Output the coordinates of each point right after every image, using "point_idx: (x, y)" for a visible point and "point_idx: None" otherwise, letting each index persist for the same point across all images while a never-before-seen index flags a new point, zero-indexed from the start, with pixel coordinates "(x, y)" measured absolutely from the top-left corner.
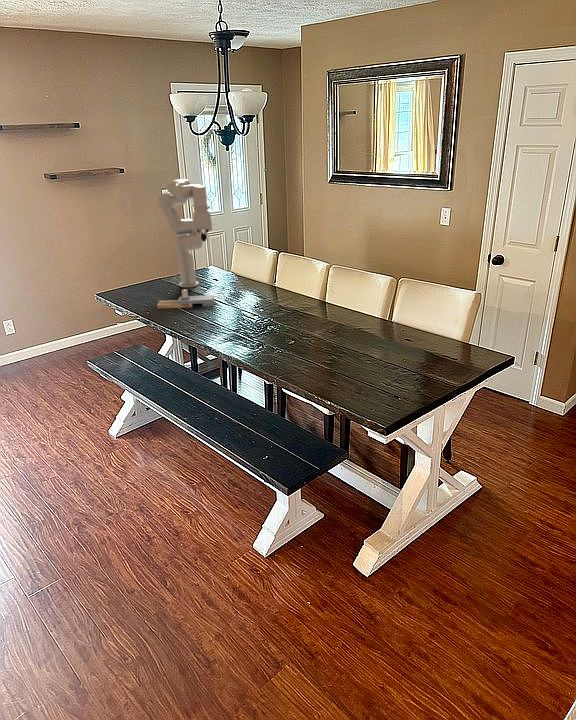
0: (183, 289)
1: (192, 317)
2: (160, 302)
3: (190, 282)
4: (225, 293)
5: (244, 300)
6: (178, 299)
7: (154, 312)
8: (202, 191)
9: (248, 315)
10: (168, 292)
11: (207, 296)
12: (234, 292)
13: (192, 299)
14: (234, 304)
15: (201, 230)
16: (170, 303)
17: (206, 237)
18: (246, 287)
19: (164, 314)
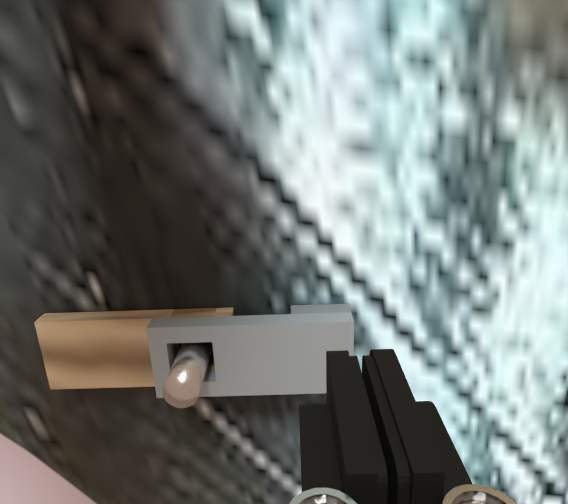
0: (170, 380)
1: (268, 490)
2: (52, 348)
3: None
4: (406, 151)
5: (519, 296)
6: (155, 375)
7: (65, 419)
8: None
9: (520, 491)
10: (4, 82)
11: (318, 343)
12: (466, 136)
13: (237, 382)
14: (460, 352)
15: None
16: (116, 369)
17: (440, 429)
18: (558, 21)
19: (125, 447)
